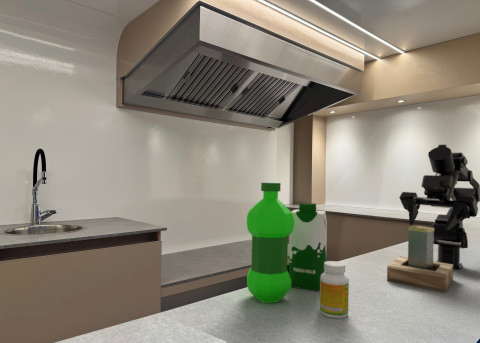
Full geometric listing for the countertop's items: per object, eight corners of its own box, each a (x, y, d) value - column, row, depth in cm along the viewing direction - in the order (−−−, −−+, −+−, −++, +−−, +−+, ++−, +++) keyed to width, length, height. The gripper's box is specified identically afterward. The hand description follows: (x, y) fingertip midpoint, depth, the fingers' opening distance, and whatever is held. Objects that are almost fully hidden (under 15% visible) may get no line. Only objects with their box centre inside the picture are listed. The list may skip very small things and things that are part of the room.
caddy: (400, 270, 97) (400, 256, 97) (452, 279, 89) (453, 264, 89) (387, 280, 87) (387, 265, 87) (445, 292, 79) (445, 275, 79)
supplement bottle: (349, 320, 62) (350, 268, 63) (319, 317, 64) (321, 266, 64) (346, 309, 68) (347, 261, 68) (319, 306, 69) (320, 259, 69)
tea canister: (414, 273, 91) (415, 225, 91) (433, 277, 88) (434, 227, 88) (407, 276, 88) (408, 227, 88) (426, 281, 85) (427, 229, 85)
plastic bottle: (300, 296, 74) (302, 183, 74) (275, 311, 66) (278, 183, 66) (262, 286, 80) (264, 181, 80) (235, 299, 72) (237, 182, 72)
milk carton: (285, 287, 80) (287, 203, 80) (292, 277, 88) (294, 200, 88) (323, 293, 77) (325, 205, 77) (327, 281, 85) (328, 202, 86)
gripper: (402, 165, 102) (384, 203, 95) (475, 165, 88) (461, 211, 81) (413, 190, 107) (396, 228, 100) (483, 194, 93) (470, 239, 86)
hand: (428, 226), depth 92 cm, fingers open, 9 cm apart
